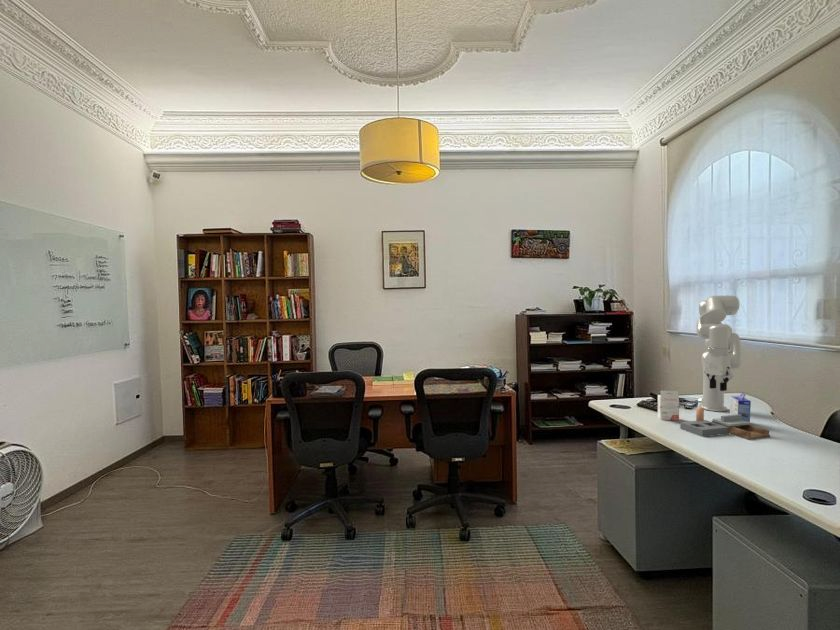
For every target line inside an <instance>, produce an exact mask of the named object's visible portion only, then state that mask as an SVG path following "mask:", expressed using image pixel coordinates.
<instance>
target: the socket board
mask: <svg viewBox="0 0 840 630" xmlns="http://www.w3.org/2000/svg"><path fill="white" fill-rule="evenodd" d="M679 428H680V429H681V430H683V431H685V430H686V432H688V431H689V433H691V434H693V435H694V434H695V435H696V434H697V435H696V436H699V435H700V436H699V437H702V436H704V437H711V436H710V435H714V436H719V435H718V434H724V435H730V434H729V427H726V426H722V425H719V424H716V423H713V422H712V421H710V420H707V419H704V420H701V421H696V420H691V421H681V422H680V423H679Z"/></svg>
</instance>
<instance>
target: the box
mask: <svg viewBox="0 0 840 630" xmlns="http://www.w3.org/2000/svg"><path fill="white" fill-rule="evenodd" d="M711 422H713V423H716V424H719V425H722V426H726V427H729V433H730V434H729V435H732V434H733V436H735V435H736V436H735V437H739V438H741V439H745V440H757V439H765V438H768V439H769V438H771V435H770V430H768V429H766V428H761V427H759V426H755V425H753V424H750V425H740V426H727V425H724V424H721V423H718V422H714V421H713V420H711Z"/></svg>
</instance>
